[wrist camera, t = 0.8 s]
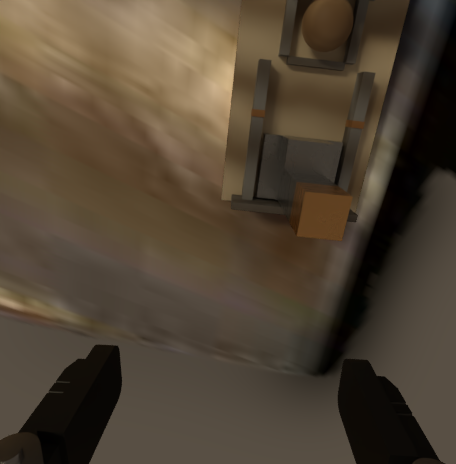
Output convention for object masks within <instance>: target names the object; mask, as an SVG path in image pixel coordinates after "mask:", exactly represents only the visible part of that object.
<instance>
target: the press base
mask: <svg viewBox="0 0 456 464" xmlns="http://www.w3.org/2000/svg"><path fill="white" fill-rule="evenodd" d="M313 1H314V0H242V4H241V13H240V23H239V33H238V42H237V52H236V62H235V71H234V81H233V90H232V100H231V110H230V119H229V129H228V138H227V148H226V158H225V167H224V177H223V187H222V197H221V200H229V201H231V209H234V210H244V211H253V212H263V213H272V214H282V215H285V213H284V211H283V209H282V207H281V205H280V203H279V202H278V200H275V199H266V198H257V197H256V188H257V181H258V174H259V167H260V160H261V153H262V146H263V139H264V133H269V134H277V135H286V136H295V137H304V138H313V139H322V140H330V141H339V142H342V143H343V145H342V150H341V154H340V159H339V163H338V168H337V172H336V177H335V181H334V183H335V184H336V185H338V186H339V187H340V188H342V189H343V190H344V191H346V192H347V193H348V194H350V195H351V196H353V198H352V202H351V206H350V210H349V214H348V218H347V221H349V222H356V220H357V216H358V215H357V214H356V213H355V212H356V208H357V204H358V200H359V196H360V192H361V188H362V184H363V181H364V177H365V173H366V169H367V165H368V161H369V157H370V153H371V149H372V145H373V142H374V138H375V134H376V130H377V126H378V122H379V118H380V114H381V110H382V106H383V103H384V99H385V95H386V91H387V87H388V83H389V79H390V75H391V71H392V68H393V64H394V60H395V56H396V52H397V48H398V44H399V40H400V36H401V32H402V29H403V25H404V21H405V17H406V13H407V9H408V5H409V1H410V0H347V1H348V2H349V4H350V5H351V7H352V10H353V17H354V18H353V27H352V30H351V33H350V35H349V36H348V38H347V40H346V41H345V42H344V43H343V44H342V45H341V46H340V47H338V48H337V49H335V50H333V51H329V52H318V51H315V50H313V49H312V48H310V47H309V46H308V45H307V43H306V42H305V40H304V38H303V35H302V20H303V16H304V14H305V12H306V10H307V8H308V7H309V5H310V4H311V3H312V2H313Z"/></svg>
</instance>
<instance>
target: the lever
mask: <svg viewBox="0 0 456 464" xmlns="http://www.w3.org/2000/svg"><path fill="white" fill-rule="evenodd" d="M342 145H343V143H342V142H339V141H330V140H322V139H313V138H304V137H295V136H286V135H277V134H269V133H264V139H263V146H262V153H261V160H260V167H259V174H258V181H257V188H256V197H257V198H266V199H275V200H278V202H279V203H280V205H281V207H282V209H283V211H284V213H285V215H286V217H287V219H288V221H289V223H290V225H291V226H292V228H293V230H294V232H295V234H296V236H298V237H308V238H318V239H328V240H338V241H342V238H343V234H344V230H345V226H346V222H347V218H348V214H349V210H350V206H351V202H352V198H353V196H351V195H350V194H348V193H347V192H346V191H344V190H343V189H342V188H340V187H339V186H338V185H336V184H335V183H334V181H335V177H336V172H337V168H338V163H339V159H340V154H341V150H342Z"/></svg>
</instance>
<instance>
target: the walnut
mask: <svg viewBox="0 0 456 464" xmlns="http://www.w3.org/2000/svg"><path fill="white" fill-rule="evenodd" d="M353 18H354V17H353V10H352V7H351V5H350V4H349V2H348V1H347V0H314V1H313V2H312V3H311V4H310V5H309V7H308V8H307V10H306V12H305V14H304V16H303V20H302V35H303V38H304V40H305V42H306V43H307V45H308V46H309V47H310V48H312V49H313V50H315V51H318V52H329V51H333V50H335V49H337V48H338V47H340V46H341V45H342V44H343V43H344V42H345V41H346V40H347V38H348V36H349V35H350V33H351V30H352V27H353Z"/></svg>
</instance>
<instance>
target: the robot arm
mask: <svg viewBox="0 0 456 464" xmlns="http://www.w3.org/2000/svg"><path fill="white" fill-rule="evenodd" d="M121 387H122V376H121V365H120V352H119V348H118V346H114V345H95V346H94V347H93V349H92V350H91V352H90V353H89V355H88V356H87V358H86V359H77V360H76V361H75V362H74V363H72V364H71V365H69V366H68V367H67V368H66V369H65V370H64V371H63V372H62V374H61V375H60V376H59V378H58V379H57V381H56V383H54V385H53V386H52V387H51V389H50V390H49V393H47V394H46V395H45V397H44V398H43V400H42V401H41V402H40V404H39V405H38V406H37V408H36V409H35V410H34V412H33V413H32V414H31V416H30V417H29V419H28V420H27V421H26V423H25V424H24V425H23V427H22V428H21V430H20V431H19V432H18V433H16V434H12V435H9V436H7V437H5V438H3V439H1V440H0V464H89V462H90V460H91V458H92V456H93V454H94V451H95V449H96V447H97V445H98V443H99V441H100V439H101V436H102V434H103V432H104V430H105V428H106V425H107V423H108V421H109V419H110V416H111V415H112V412H113V410H114V408H115V406H116V404H117V401H118V399H119V396H120V393H121ZM338 408H339V412H340V416H341V419H342V422H343V425H344V428H345V431H346V434H347V437H348V440H349V443H350V446H351V449H352V452H353V455H354V458H355V461H356V464H445V463H443V462H441V461H440V460H439V459H438V457H437V455H436V453H435V452H434V450H433V448H432V446H431V445H430V443H429V441H428V440H427V438H426V436H425V434H424V433H423V431H422V429H421V428H420V426H419V424H418V422H417V421H416V419H415V417H414V416H412V412H411V410H410V409H409V407H408V405H406V402H405V400H404V398H403V397H402V395H401V393H400V392H399V390H398V388H396V387H395V386H394V385H393V384H392V383H391V382H390V381H389V380H388V379H387V378H386V377H381V376H376V374H375V372H374V370H373V368H372V366H371V364H370V363H369V361H368V360H359V359H345V360H344V361H343V366H342V372H341V378H340V385H339V391H338Z"/></svg>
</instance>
